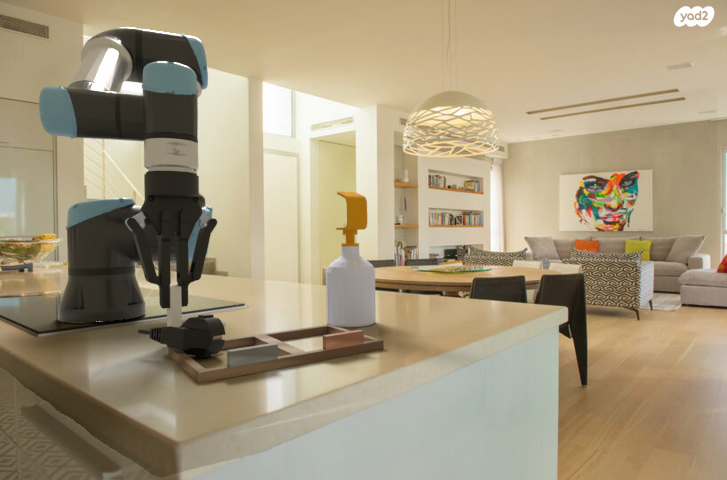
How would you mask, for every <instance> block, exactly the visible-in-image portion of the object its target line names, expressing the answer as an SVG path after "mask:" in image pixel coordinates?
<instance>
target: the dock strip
mask: <svg viewBox="0 0 727 480" xmlns="http://www.w3.org/2000/svg"><path fill="white" fill-rule="evenodd" d="M318 335H319V336H320V335H322V348H321V349H315V350H314V349H313V350H309V351H306V350H303V349H301V348H299V347H297V346H294V345H291V344H289V343H286V342H284V341H285V340H292V339H298V338H300V339H301V338H305V337H312V336H318ZM222 339H223V340H225V343H224V345H223V347H222V349H221V350H226V349H227V350H226V365H222V366H216V367H209V368H205V367H204V366H202V365H201V364H200V363H198V362H197V361H196V360H195V359H194V358H192V357H191V356H190V355H188V354H186V353H185V351H184V350H182V349H176V348H170V347H167V353H168V354H167V355H168V356H169V357H170V358H172V359H173V361H174V362H175V363H177V364H178V365H179V366H180V367H181V368H182V369H183V370H185V372H187V373H188V374H189V375H190V376H191V377H192V378H193V379H194V380H195V381H197V382H198V383H199V384H204V383H208V382H210V383H211V382H214V381H218V380H225V379H231V378H235V377H241V376H245V375H251V374H255V373H256V374H257V373H261V372H266V371H268V372H269V371H272V370H278V369H282V368H283V369H285V368H288V367H294V366H298V365H304V364H309V363H314V362H320V361H324V360H325V361H326V360H331V359H336V358H341V357H346V356H353V355H357V354H363V353H367V352H373V351H378V350H383V349H384V348H385V347H384V346H385V345H384V344H385V343H384V339H381V338H377V337H374V336H370V335H367V334H364V330H361V329H356V330H350V329H347V328H345V327H337V326H333V325H329V324H324V325H317V326H310V327H309V326H308V327H303V328H301V327H300V328H295V329H289V330H281V331H280V330H279V331H275V332H266V333H259V334H252V335H244V336H238V337H232V338H231V337H230V338H225V339H224V338H222Z"/></svg>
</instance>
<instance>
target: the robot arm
mask: <svg viewBox="0 0 727 480" xmlns="http://www.w3.org/2000/svg"><path fill="white" fill-rule="evenodd" d="M80 61H81V62H80V64H79V66H78V68H77V70H76V72H75V73H74V75H73V77H72V79H71V80H70V82H69V84H68V86H67V87H66V86H64V85H59V86H55V85H54V86H49V85H48V86H44V87H43V88H42V89H41V90H40V92H39V96H38V97H39V98H38V111H39V118H40V122H41V125H42V128H43V129H44V131H45V132H46V133H47V134H48V135H51V136H56V137H67V138H70V139H76V138H77V139H97V140H112V141H113V140H116V141H117V140H118V141H133V142H143V167H144V168H145V169H147V171H146V172H145V173H144V174H143V176H144V177H143V178H144V179H143V180H144V183H143V184H144V185H143V186H144V189H143V190H144V191H143V192H144V201H143V204H142V205H136V202H135V201H134V198H131V197H119V198H118V197H113V198H102V199H93V200H87V201H82V202H81V201H80V202H76V203H74V204H72V205H71V206H70V207H69V208H68V210H67V219H66V226H65V230H66V235H67V236H66V238H67V240H66V241H67V242H66V243H67V244H66V245H67V282H66V284H65V288H64V291H63V294H62V297H61V299H60V302H59V305H58V308H57V321H58V320H59V321H61V322H60V323H63V322H72V323H71V324H74V323H73V322H96V321H97V322H98V321H110V322H114V321H113V320H119V321H123V319H125V320H130V318H131V319H135V318H138V317H141V316H144V315H145V314H146V301H145V299H144V296H143V293H142V291H141V288H140V285H139V283H138V280H137V276H136V263H137V264H139V263H140V265H141V267H142V268H141V269H142V271H143V275H144V277H145V281H146V282H148V283H150V284H151V285H152V284H153V285H157V286H158V289H159V294H158V296H159V307H160V308H161V309H164V310H166V327H169V326H172V327H180V326H181V325H182V324H183V313H182V312H183V311H182V310H183V309H182V307H188V304H189V285H190V284H192V283H193V282H196V281H199V280H200V279H201V277H202V274H203V270H204V265H205V260H206V257H207V256H208V252H209V247H210V246H209V245H210V238H211V234H212V233H213V231H214V229H215V228H216V226H217V225H218V220H217V218H213V210H214V209H213V208H214V207H212V206H211V205H209V204H208V205H207V204H206V197H205V196H204V195H203V194H202V193H201V192H200V184H199V183H200V176H199V175H198V170H199V139H198V138H199V136H198V133H199V132H198V130H199V127H198V126H199V125H198V124H199V120H198V119H199V118H198V117H199V114H198V113H199V109H198V108H199V107H198V106H199V105H198V104H199V103H198V102H199V101H198V98H200V97H201V96H202V95H201V94H202V93H203V90H206V89H207V88H208V86H209V85H208V84H209V75H208V73H209V72H208V67H207V66H208V62H207V55H206V51H205V47H204V44H203V42H202V40H201V39H199V37H197V36H192V35H187V34H185V33H170V32H164V31H157V30H150V29H144V28H137V27H131V26H130V27H129V26H126V27H125V26H123V27H115V28H111V29H108V30H103V31H102V32H98V33H97V34H94V35H93V36H92V37H91V38H89V39H88V40H87V41H86V42H85V44H84V45H83V47H82V48H81V52H80ZM124 82H129V83H139V84H141V89H142V94H139V93H130V92H121V91H122V86H123V83H124ZM172 262H173V263H175V262H176V264H175V265H176V266H175V270H176V283H177V284H171V283H172V281H171V280H172V279H171V277H172V275H171V274H172V273H171V269H172V268H171V267H172V266H171V263H172ZM189 262H190V265H189ZM155 263H157V268H158V269H157V271H158V275H157V271H156V268H155V265H154V264H155ZM59 321H58V322H59Z"/></svg>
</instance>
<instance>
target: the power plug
mask: <svg viewBox="0 0 727 480" xmlns="http://www.w3.org/2000/svg"><path fill="white" fill-rule="evenodd" d="M214 316H215V315H214V314H209V313H206V314H198V315H197V316H193V317H192V316H191V317H188V318H187V319H186V320H185V321H184V322H182V325H181V326H180V327H172V326H169V327H167V326H160V327H150V329H146V328H138V330H137V333H138V334H141V335H147V336H149V339H151V340H153V341H155V342H157V343H159V344H161V345H166V347H167V348H168V347H170V348H176V349H182V350H184V351H185V353H186V354H187V355H188V356H193V357H195V358H198V359H202V358H203V359H204V358H208V357H211V356H213V355H214V356H215V355H217V354H218V353H220V351H222V350H223V349H222V347H223V345H224V343H225V340H223V339H224V338H223V336H225V335H226V330H225V329H226V328H225V327H226V322H225V321H224V320H223V321H222V320H221V319H220V318H219V317H214Z"/></svg>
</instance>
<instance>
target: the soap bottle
mask: <svg viewBox="0 0 727 480" xmlns="http://www.w3.org/2000/svg"><path fill="white" fill-rule="evenodd" d="M336 194H337V195H339V196H340V197H342V198H344V199H345V202H346V224H345V227H335V228H336V229H335V230H336V231H342V235H345V242H344V243H343V242H342V243H341V247H340V248H341V249H340V250H341V251H340V252H341V254H340V256H339V257H338V258H336V259H335V260H333V261H332V262H330V264H329V265H327V268H326V271H325V291H326V292H325V293H326V300H325V301H326V303H325V305H326V309H325V310H326V323H327V325H333V326H337V327H340V328H345V329H347V328H348V329H349V328H351V329H352V328H363V327H368V326H371V325H373V324H374V323H376V313H377V312H376V270H375V267H374V265H373V264H372V263H370V261H369V260H367V259H365V258H363V257H362V256H361V254H360V243H359V242H356V241H355V239H356V238H355V236H356V235H358V231H359V230H360V231H361V230H365V229H367V227H368V200H367V198H366V196H364V195H363V194H360V193H358V192H354V191H339V190H338V191H337V192H336Z"/></svg>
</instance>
